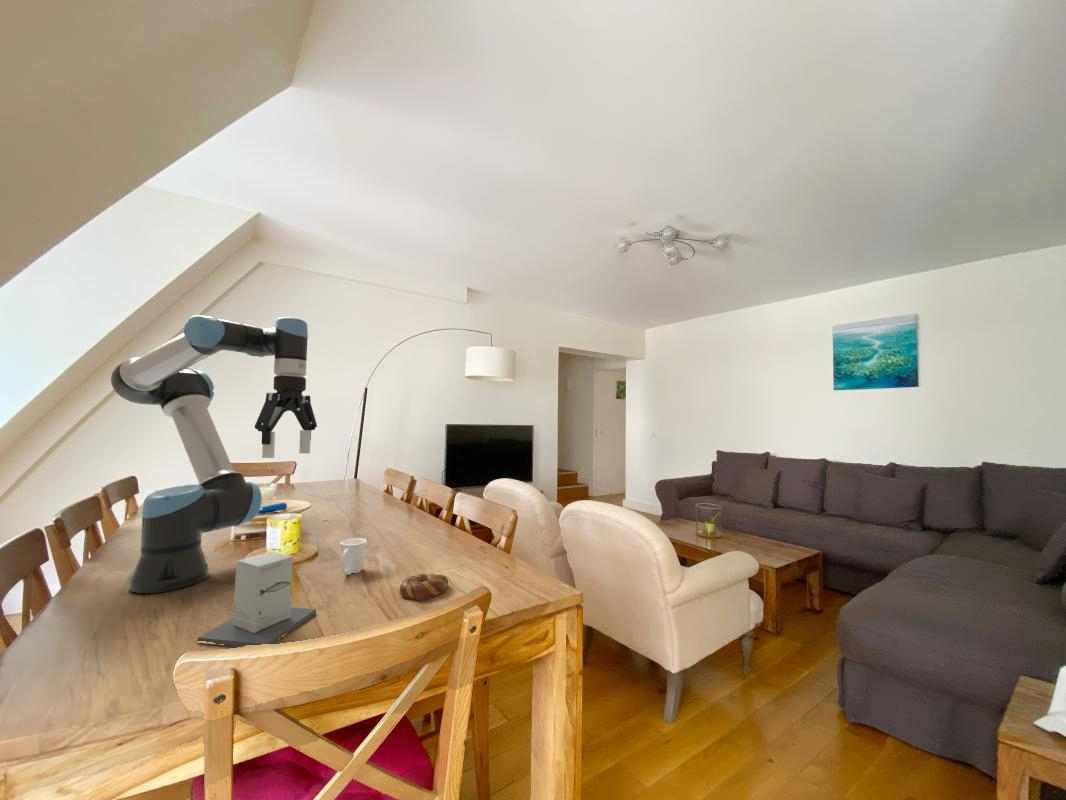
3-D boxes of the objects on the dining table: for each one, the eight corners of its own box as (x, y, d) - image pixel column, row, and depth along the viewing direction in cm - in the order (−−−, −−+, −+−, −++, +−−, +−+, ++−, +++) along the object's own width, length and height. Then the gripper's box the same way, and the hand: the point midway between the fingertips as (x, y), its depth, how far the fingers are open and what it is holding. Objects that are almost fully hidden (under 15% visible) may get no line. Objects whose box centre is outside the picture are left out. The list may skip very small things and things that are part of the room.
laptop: (197, 643, 78) (197, 637, 78) (256, 609, 92) (257, 604, 92) (265, 649, 76) (265, 643, 76) (315, 613, 90) (315, 609, 90)
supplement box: (254, 634, 79) (256, 566, 80) (232, 625, 83) (234, 560, 83) (292, 618, 86) (294, 555, 86) (270, 610, 89) (272, 550, 90)
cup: (370, 566, 118) (371, 537, 119) (354, 580, 108) (355, 549, 109) (346, 566, 119) (347, 537, 119) (328, 580, 109) (329, 548, 109)
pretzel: (439, 580, 110) (440, 565, 110) (455, 595, 101) (456, 579, 101) (393, 589, 104) (393, 574, 104) (405, 606, 95) (406, 589, 95)
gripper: (267, 370, 100) (264, 460, 99) (331, 380, 125) (329, 452, 124) (239, 371, 101) (235, 459, 100) (308, 380, 126) (305, 451, 125)
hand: (287, 455), depth 112 cm, fingers open, 13 cm apart
